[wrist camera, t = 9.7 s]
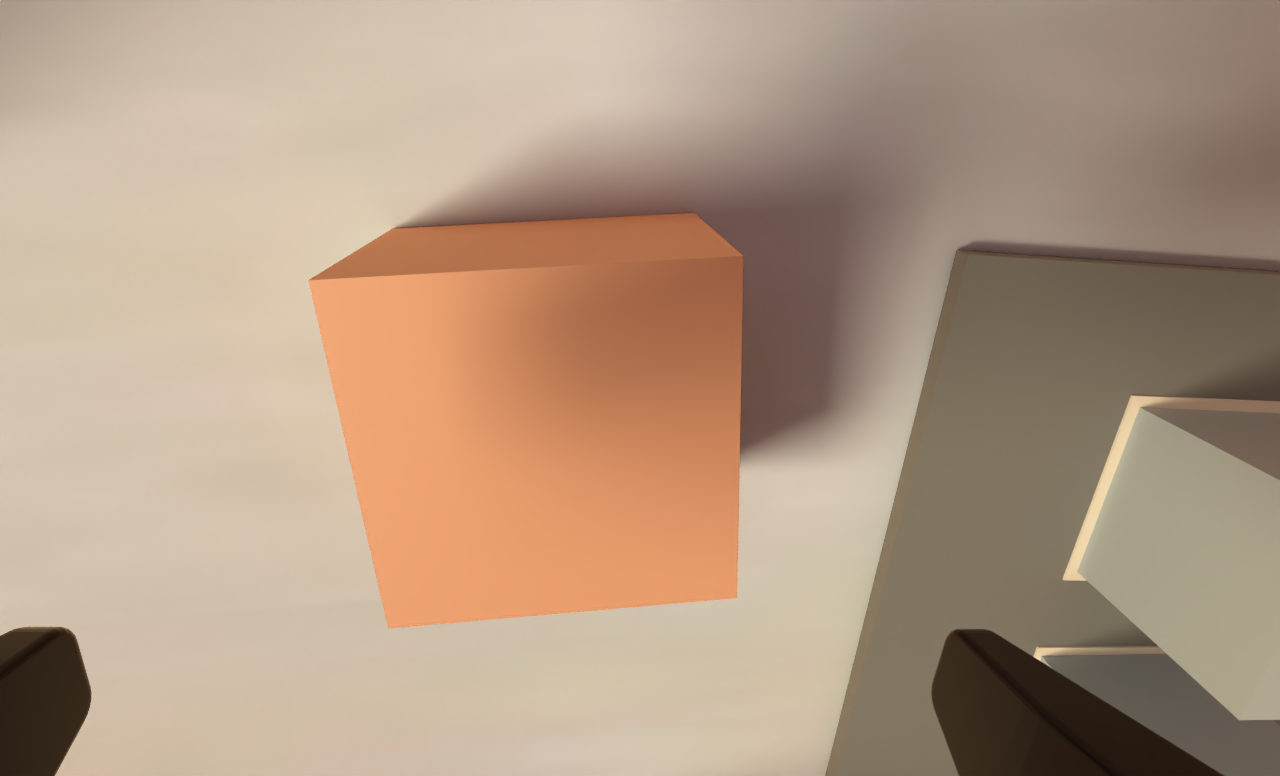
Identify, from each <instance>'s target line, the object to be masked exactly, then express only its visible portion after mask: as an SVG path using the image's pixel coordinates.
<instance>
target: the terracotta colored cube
mask: <svg viewBox="0 0 1280 776" xmlns="http://www.w3.org/2000/svg"><path fill="white" fill-rule="evenodd" d="M309 284H310V289H311V293H312V297H313V302H314V306H315V310H316V315H317V319H318V324H319V328H320V332H321V337H322V341H323V345H324V350H325V354H326V358H327V363H328V367H329V372H330V376H331V380H332V385H333V389H334V393H335V398H336V402H337V407H338V411H339V415H340V420H341V424H342V428H343V433H344V437H345V441H346V446H347V450H348V455H349V459H350V463H351V468H352V472H353V476H354V481H355V485H356V490H357V494H358V498H359V503H360V507H361V511H362V516H363V520H364V525H365V529H366V533H367V538H368V542H369V546H370V551H371V555H372V559H373V564H374V568H375V573H376V577H377V581H378V586H379V590H380V594H381V599H382V603H383V608H384V612H385V616H386V621H387V625H388V628H397V627H409V626H420V625H432V624H443V623H455V622H466V621H478V620H489V619H501V618H512V617H523V616H535V615H546V614H558V613H569V612H581V611H592V610H604V609H615V608H627V607H638V606H649V605H661V604H672V603H684V602H695V601H707V600H718V599H730V598H737V573H738V521H739V468H740V415H741V362H742V309H743V255H742V254H741V253H740V252H738V251H737V250H736V249H735V248H734V247H733V246H732V245H730V244H729V243H728V242H727V241H726V240H725V239H724V238H722V237H721V236H720V235H719V234H718V233H717V232H716V231H714V230H713V229H712V228H711V227H710V226H709V225H708V224H706V223H705V222H704V221H703V220H702V219H701V218H699V217H698V216H697V215H696V214H695V213H680V214H661V215H642V216H622V217H603V218H584V219H565V220H546V221H527V222H508V223H488V224H469V225H450V226H431V227H412V228H393V229H391V230H390V231H388V232H386V233H385V234H383V235H382V236H380V237H378V238H377V239H375V240H373V241H372V242H370V243H368V244H367V245H365V246H364V247H362V248H360V249H359V250H357V251H355V252H354V253H352V254H351V255H349V256H347V257H346V258H344V259H342V260H341V261H339V262H338V263H336V264H334V265H333V266H331V267H329V268H328V269H326V270H325V271H323V272H321V273H320V274H318V275H316V276H315V277H313V278H311V279H310V280H309Z"/></svg>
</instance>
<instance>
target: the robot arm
mask: <svg viewBox="0 0 1280 776" xmlns="http://www.w3.org/2000/svg"><path fill="white" fill-rule="evenodd" d="M931 697H932V703H933V707H934V711H935V713H936V716H937V719H938V722H939V724H940V727H941V730H942V732H943V735H944V738H945V740H946V743H947V746H948V749H949V751H950V754H951V757H952V759H953V762H954V765H955V767H956V770H957V773H958V775H959V776H1224V775H1223V774H1221V773H1220V772H1218V771H1216V770H1215V769H1213V768H1212V767H1210V766H1208V765H1207V764H1205V763H1203V762H1202V761H1200V760H1199V759H1197V758H1195V757H1194V756H1192V755H1191V754H1189V753H1187V752H1186V751H1184V750H1183V749H1181V748H1179V747H1178V746H1176V745H1175V744H1173V743H1171V742H1170V741H1168V740H1166V739H1165V738H1163V737H1162V736H1160V735H1158V734H1157V733H1155V732H1154V731H1152V730H1150V729H1149V728H1147V727H1146V726H1144V725H1142V724H1141V723H1139V722H1138V721H1136V720H1134V719H1133V718H1131V717H1129V716H1128V715H1126V714H1125V713H1123V712H1121V711H1120V710H1118V709H1117V708H1115V707H1113V706H1112V705H1110V704H1109V703H1107V702H1105V701H1104V700H1102V699H1101V698H1099V697H1097V696H1096V695H1094V694H1092V693H1091V692H1089V691H1088V690H1086V689H1084V688H1083V687H1081V686H1080V685H1078V684H1076V683H1075V682H1073V681H1072V680H1070V679H1068V678H1067V677H1065V676H1064V675H1062V674H1060V673H1059V672H1057V671H1056V670H1054V669H1052V668H1051V667H1049V666H1047V665H1046V664H1044V663H1043V662H1041V661H1039V660H1038V659H1036V658H1035V657H1033V656H1031V655H1030V654H1028V653H1027V652H1025V651H1023V650H1022V649H1020V648H1019V647H1017V646H1015V645H1014V644H1012V643H1011V642H1009V641H1007V640H1006V639H1004V638H1002V637H1001V636H999V635H998V634H996V633H994V632H992V631H990V630H986V629H955V630H952V631H951V632H950V633H949V634H948V635H947V637H946V639H945V642H944V646H943V649H942V652H941V655H940V659H939V662H938V665H937V669H936V672H935V675H934V678H933V682H932V687H931ZM90 703H91V687H90V684H89V680H88V677H87V673H86V670H85V666H84V663H83V659H82V656H81V652H80V649H79V645H78V642H77V639H76V637H75V635H74V634H73V633H72V632H71V631H70V630H69V629H66V628H63V627H23V628H18V629H14V630H12V631H9V632H7V633H5V634H3V635H1V636H0V776H55V774H56V773H57V771H58V769H59V767H60V765H61V763H62V761H63V760H64V758H65V756H66V754H67V752H68V750H69V749H70V747H71V745H72V743H73V741H74V739H75V737H76V736H77V734H78V732H79V730H80V728H81V726H82V725H83V723H84V721H85V719H86V716H87V714H88V711H89V708H90Z"/></svg>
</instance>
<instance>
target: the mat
mask: <svg viewBox="0 0 1280 776" xmlns="http://www.w3.org/2000/svg"><path fill="white" fill-rule="evenodd" d="M1140 407H1142V408H1167V409H1191V410H1216V411H1240V412H1265V413H1280V272H1279V271H1264V270H1248V269H1233V268H1218V267H1203V266H1188V265H1173V264H1158V263H1142V262H1127V261H1112V260H1097V259H1082V258H1067V257H1051V256H1036V255H1021V254H1006V253H991V252H976V251H961V250H957V251H956V255H955V259H954V263H953V267H952V271H951V275H950V279H949V283H948V287H947V291H946V295H945V299H944V303H943V308H942V312H941V316H940V320H939V324H938V328H937V332H936V336H935V340H934V344H933V348H932V352H931V356H930V360H929V364H928V368H927V372H926V376H925V380H924V384H923V388H922V392H921V396H920V400H919V404H918V408H917V412H916V416H915V420H914V424H913V428H912V432H911V436H910V440H909V444H908V448H907V452H906V456H905V460H904V464H903V468H902V472H901V476H900V480H899V484H898V488H897V492H896V496H895V500H894V504H893V508H892V512H891V516H890V520H889V524H888V528H887V532H886V536H885V540H884V544H883V548H882V552H881V556H880V560H879V564H878V568H877V572H876V576H875V580H874V584H873V588H872V592H871V596H870V600H869V604H868V608H867V612H866V616H865V620H864V624H863V628H862V632H861V636H860V640H859V644H858V648H857V652H856V656H855V660H854V664H853V668H852V672H851V676H850V680H849V684H848V688H847V692H846V696H845V700H844V704H843V708H842V712H841V716H840V720H839V724H838V728H837V732H836V736H835V740H834V744H833V748H832V752H831V756H830V760H829V764H828V768H827V772H826V776H959V775H958V773H957V770H956V767H955V765H954V762H953V759H952V757H951V754H950V751H949V749H948V746H947V743H946V740H945V738H944V735H943V732H942V730H941V727H940V724H939V722H938V719H937V716H936V713H935V711H934V707H933V703H932V697H931V687H932V682H933V678H934V675H935V672H936V669H937V665H938V662H939V659H940V655H941V652H942V649H943V646H944V642H945V639H946V637H947V635H948V634H949V633H950V632H951V631H952V630H955V629H986V630H990V631H992V632H994V633H996V634H998V635H999V636H1001V637H1002V638H1004V639H1006V640H1007V641H1009V642H1011V643H1012V644H1014V645H1015V646H1017V647H1019V648H1020V649H1022V650H1023V651H1025V652H1027V653H1028V654H1030V655H1031V656H1033V657H1035V658H1036V659H1038V660H1039V661H1040V659H1041V656H1073V655H1121V654H1166V653H1165V652H1164V651H1163V650H1162V649H1161V648H1160V647H1159V646H1158V645H1157V644H1155V643H1154V642H1153V641H1152V640H1151V639H1150V638H1149V637H1148V636H1147V635H1146V634H1145V633H1143V632H1142V631H1141V630H1140V629H1139V628H1138V627H1137V626H1136V625H1135V624H1134V623H1133V622H1131V621H1130V620H1129V619H1128V618H1127V617H1126V616H1125V615H1124V614H1123V613H1122V612H1121V611H1119V610H1118V609H1117V608H1116V607H1115V606H1114V605H1113V604H1112V603H1111V602H1110V601H1109V600H1107V599H1106V598H1105V597H1104V596H1103V595H1102V594H1101V593H1100V592H1099V591H1098V590H1097V589H1095V588H1094V587H1093V586H1092V585H1091V584H1090V583H1089V582H1088V581H1087V580H1086V579H1085V578H1083V577H1082V576H1081V575H1080V574H1079V573H1078V572H1077V571H1078V568H1079V565H1080V563H1081V560H1082V558H1083V555H1084V552H1085V550H1086V547H1087V544H1088V542H1089V539H1090V537H1091V534H1092V531H1093V529H1094V526H1095V523H1096V521H1097V518H1098V516H1099V513H1100V510H1101V508H1102V505H1103V503H1104V500H1105V497H1106V495H1107V492H1108V489H1109V487H1110V484H1111V482H1112V479H1113V476H1114V474H1115V471H1116V468H1117V466H1118V463H1119V461H1120V458H1121V455H1122V453H1123V450H1124V448H1125V445H1126V442H1127V440H1128V437H1129V434H1130V432H1131V429H1132V427H1133V424H1134V421H1135V419H1136V416H1137V413H1138V411H1139V408H1140ZM1274 721H1275V722H1276V723H1277V724H1279V725H1280V720H1274Z"/></svg>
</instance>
